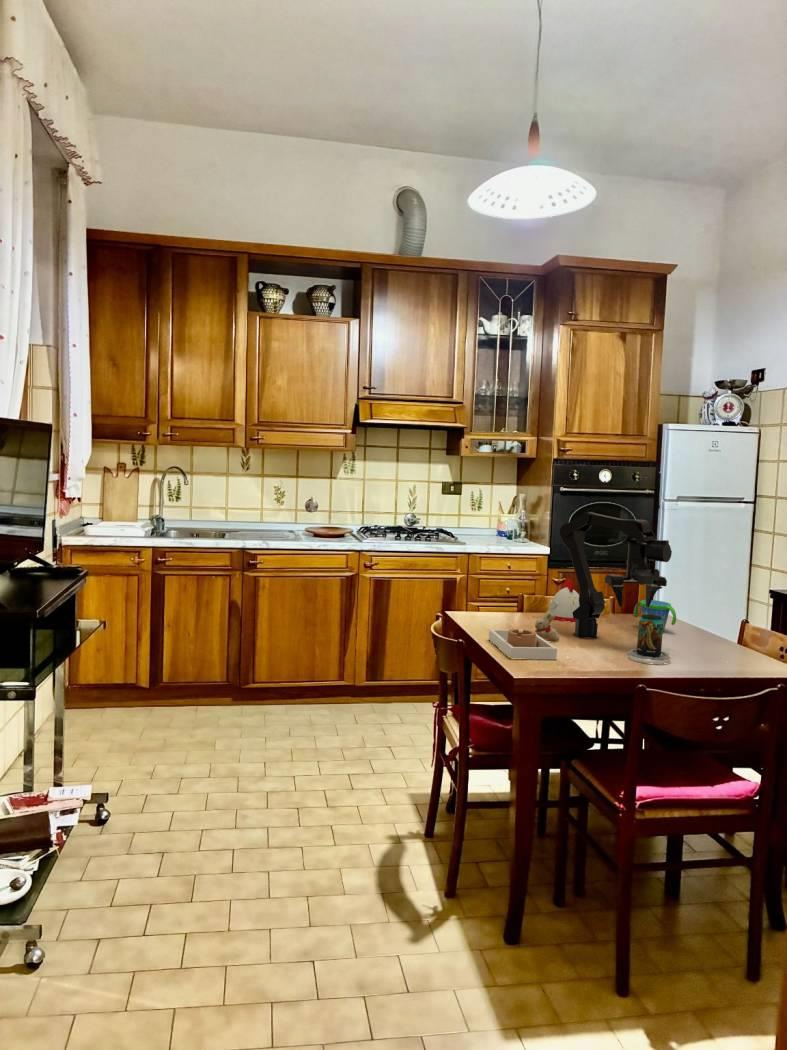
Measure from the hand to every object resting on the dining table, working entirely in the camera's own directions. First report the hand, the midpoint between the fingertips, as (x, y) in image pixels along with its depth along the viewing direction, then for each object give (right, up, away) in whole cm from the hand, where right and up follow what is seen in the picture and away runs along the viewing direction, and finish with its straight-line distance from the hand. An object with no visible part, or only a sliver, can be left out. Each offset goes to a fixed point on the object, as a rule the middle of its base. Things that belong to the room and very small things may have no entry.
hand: (634, 606), depth 248 cm
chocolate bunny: (-27, -12, +4) cm, 30 cm away
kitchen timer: (-12, -9, +44) cm, 47 cm away
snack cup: (+16, -12, +30) cm, 36 cm away
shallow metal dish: (0, -14, -15) cm, 21 cm away
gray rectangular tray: (-38, -12, -11) cm, 41 cm away
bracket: (-38, -13, -11) cm, 42 cm away
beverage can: (0, -13, -15) cm, 20 cm away
